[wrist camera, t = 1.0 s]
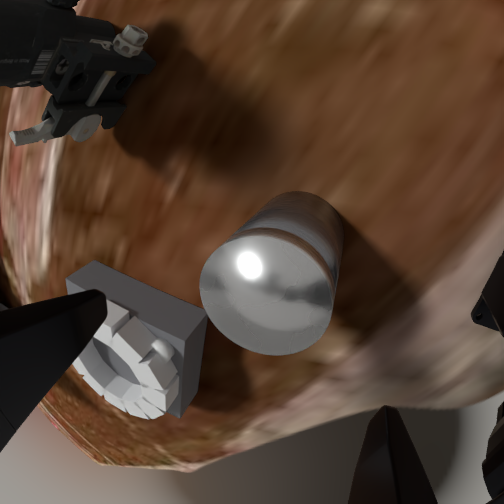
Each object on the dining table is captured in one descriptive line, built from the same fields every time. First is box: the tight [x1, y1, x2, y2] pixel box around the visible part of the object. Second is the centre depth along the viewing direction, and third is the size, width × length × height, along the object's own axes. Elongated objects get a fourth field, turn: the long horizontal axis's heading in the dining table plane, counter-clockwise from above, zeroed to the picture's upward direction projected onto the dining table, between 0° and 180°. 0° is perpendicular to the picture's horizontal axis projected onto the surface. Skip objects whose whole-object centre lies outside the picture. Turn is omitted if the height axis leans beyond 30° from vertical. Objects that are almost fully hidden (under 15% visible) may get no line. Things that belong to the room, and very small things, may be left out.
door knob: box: [200, 191, 344, 355], centre depth 14 cm, size 5×5×7 cm
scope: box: [0, 0, 156, 146], centre depth 10 cm, size 8×14×10 cm
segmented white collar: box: [66, 260, 208, 419], centre depth 22 cm, size 11×10×6 cm
